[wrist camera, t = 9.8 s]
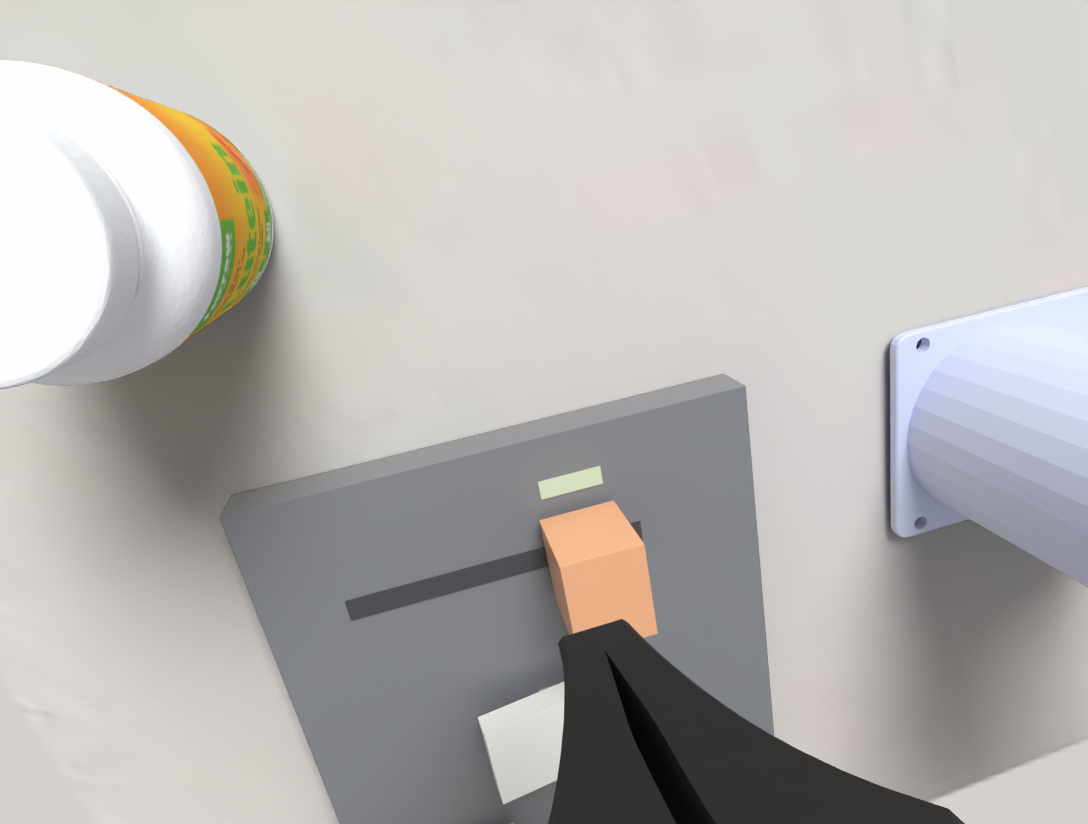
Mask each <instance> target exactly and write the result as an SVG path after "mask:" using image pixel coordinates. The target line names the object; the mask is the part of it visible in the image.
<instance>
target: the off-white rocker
mask: <svg viewBox="0 0 1088 824" xmlns="http://www.w3.org/2000/svg"><path fill="white" fill-rule="evenodd" d="M478 721H479V724H480V728H481V731H482V735H483V739H484V742H485V746H486V750H487V753H488V757H489V760H490V764H491V768H492V771H493V775H494V779H495V782H496V786H497V789H498V791H499V794H500V797H501V800H502V803H503V805H504V804H506V803H508V802H510V801H512V800H515V799H517V798H519V797H521V796H523V795H526V794H528V793H530V792H532V791H534V790H536V789H539V788H541V787H543V786H545V785H547V784H550V783H552V782H554V781H556V780H557V776H558V770H559V763H560V755H561V745H562V735H563V724H564V682H562V683H559V684H557V685H554V686H552V687H549V688H547V689H545V690H542V691H540V692H537V693H535V694H533V695H530V696H528V697H525V698H523V699H521V700H518V701H516V702H513V703H511V704H509V705H506V706H504V707H501V708H499V709H496V710H494V711H492V712H489V713H487V714H484V715H482V716H480V717H478Z"/></svg>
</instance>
